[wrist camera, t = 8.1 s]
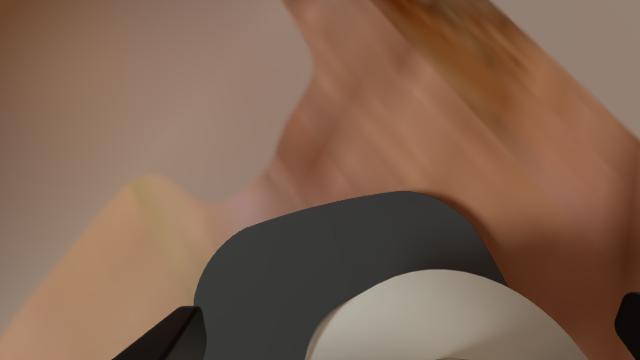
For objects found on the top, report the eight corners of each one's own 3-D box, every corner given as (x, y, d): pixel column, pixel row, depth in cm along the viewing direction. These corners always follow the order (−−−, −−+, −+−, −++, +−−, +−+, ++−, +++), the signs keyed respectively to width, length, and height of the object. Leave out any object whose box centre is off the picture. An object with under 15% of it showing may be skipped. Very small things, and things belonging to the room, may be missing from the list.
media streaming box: (438, 192, 20) (456, 170, 17) (571, 493, 14) (631, 531, 11) (201, 250, 19) (181, 236, 16) (236, 614, 13) (213, 692, 10)
